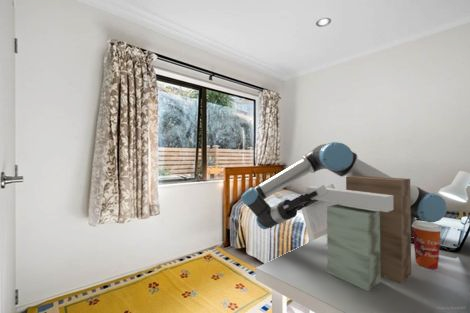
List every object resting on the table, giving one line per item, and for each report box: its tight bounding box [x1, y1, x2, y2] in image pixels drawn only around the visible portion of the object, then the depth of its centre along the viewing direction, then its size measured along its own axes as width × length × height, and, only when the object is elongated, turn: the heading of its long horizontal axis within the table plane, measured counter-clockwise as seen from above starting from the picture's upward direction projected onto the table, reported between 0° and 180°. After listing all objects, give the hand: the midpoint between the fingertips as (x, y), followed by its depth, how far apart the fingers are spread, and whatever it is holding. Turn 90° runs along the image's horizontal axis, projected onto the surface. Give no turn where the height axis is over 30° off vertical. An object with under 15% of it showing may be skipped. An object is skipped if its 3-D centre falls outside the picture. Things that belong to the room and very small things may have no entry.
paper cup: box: [412, 220, 443, 270], centre depth 73 cm, size 8×8×14 cm
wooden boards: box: [326, 176, 412, 292], centre depth 68 cm, size 20×16×30 cm
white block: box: [305, 185, 393, 212], centre depth 68 cm, size 4×25×4 cm, turn 35°
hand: (329, 188), depth 72 cm, fingers closed on white block, 4 cm apart
